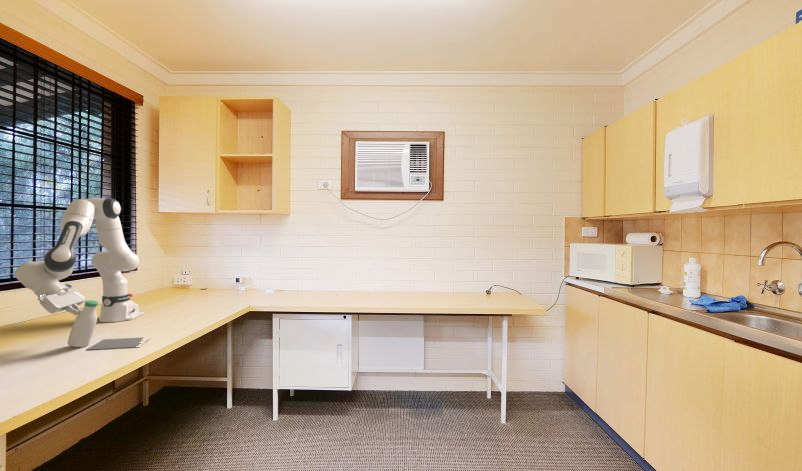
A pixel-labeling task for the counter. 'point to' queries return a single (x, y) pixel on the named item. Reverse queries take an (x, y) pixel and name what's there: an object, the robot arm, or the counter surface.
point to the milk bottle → (84, 325)
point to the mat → (116, 343)
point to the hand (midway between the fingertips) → (79, 313)
